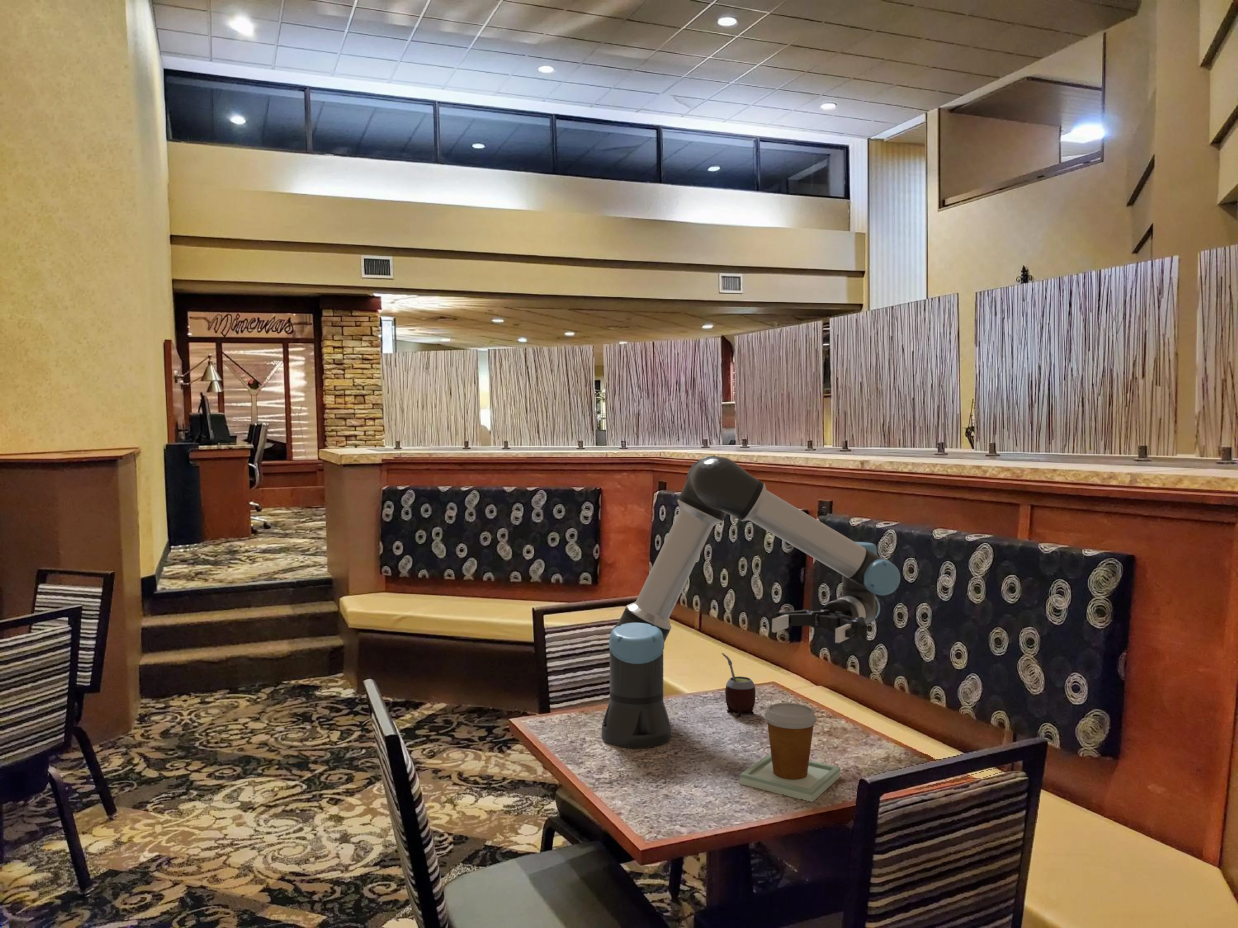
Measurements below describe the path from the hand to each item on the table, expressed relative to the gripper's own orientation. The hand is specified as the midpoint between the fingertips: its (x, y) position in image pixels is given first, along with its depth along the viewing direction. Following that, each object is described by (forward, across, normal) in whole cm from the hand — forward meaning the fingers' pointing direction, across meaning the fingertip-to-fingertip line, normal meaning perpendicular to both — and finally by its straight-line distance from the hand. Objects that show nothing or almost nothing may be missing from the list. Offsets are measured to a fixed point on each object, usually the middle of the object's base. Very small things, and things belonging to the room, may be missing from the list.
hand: (804, 630), depth 166 cm
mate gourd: (-17, +23, -26) cm, 38 cm away
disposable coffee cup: (+13, -3, -25) cm, 28 cm away
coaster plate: (+13, -4, -26) cm, 29 cm away
